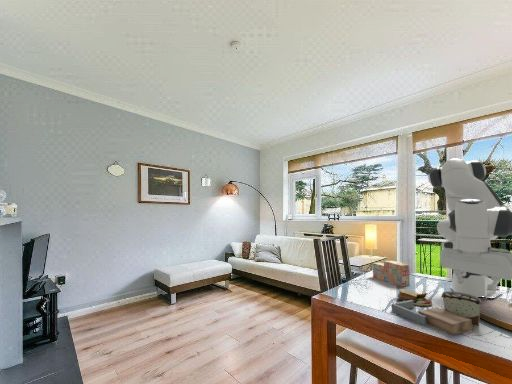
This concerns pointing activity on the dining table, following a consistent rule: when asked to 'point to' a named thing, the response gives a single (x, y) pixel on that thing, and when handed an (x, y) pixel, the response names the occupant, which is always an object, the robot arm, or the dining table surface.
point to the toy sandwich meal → (414, 297)
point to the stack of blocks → (392, 272)
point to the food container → (463, 305)
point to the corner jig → (408, 311)
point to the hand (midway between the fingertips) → (476, 286)
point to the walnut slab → (447, 320)
